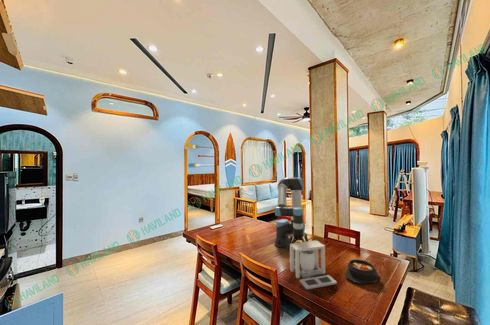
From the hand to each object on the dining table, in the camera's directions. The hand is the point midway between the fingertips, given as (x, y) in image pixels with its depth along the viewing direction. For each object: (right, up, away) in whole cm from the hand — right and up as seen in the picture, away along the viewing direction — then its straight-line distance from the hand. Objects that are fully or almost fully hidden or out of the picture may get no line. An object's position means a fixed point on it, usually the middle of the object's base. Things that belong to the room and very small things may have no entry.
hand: (298, 255), depth 152 cm
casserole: (+38, -5, -19) cm, 43 cm away
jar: (+3, -6, -12) cm, 14 cm away
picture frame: (+2, -5, -9) cm, 10 cm away
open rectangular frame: (+4, -6, -18) cm, 19 cm away
